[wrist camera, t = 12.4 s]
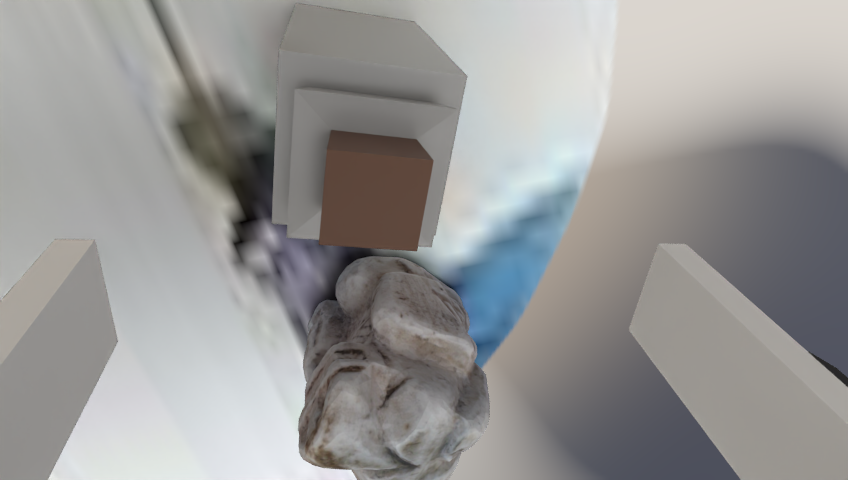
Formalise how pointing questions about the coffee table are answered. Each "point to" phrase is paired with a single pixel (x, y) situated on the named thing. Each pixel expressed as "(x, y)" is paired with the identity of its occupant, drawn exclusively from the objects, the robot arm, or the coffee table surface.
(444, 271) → the coffee table surface
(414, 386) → the figurine
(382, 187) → the perfume bottle
